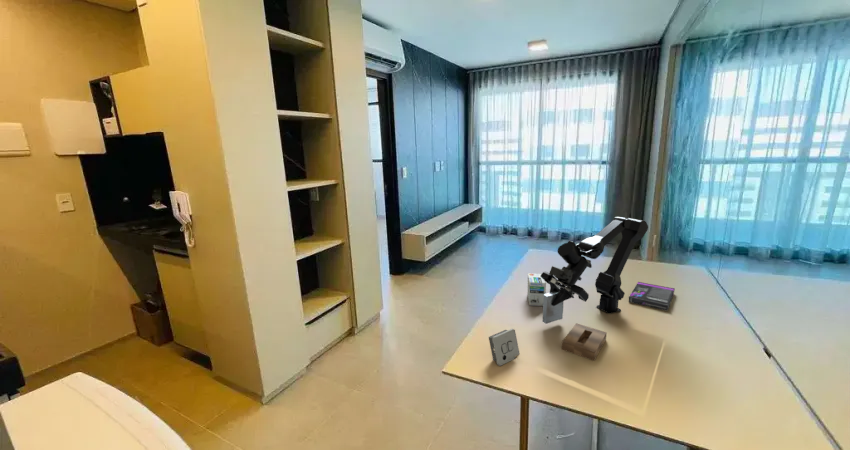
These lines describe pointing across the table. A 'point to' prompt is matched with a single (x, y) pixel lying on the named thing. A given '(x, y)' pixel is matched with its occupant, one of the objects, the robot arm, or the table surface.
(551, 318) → the gray rectangular metal block
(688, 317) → the table surface
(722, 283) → the table surface
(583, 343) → the walnut slot box
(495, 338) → the electrical switch
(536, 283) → the light bulb box
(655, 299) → the box
